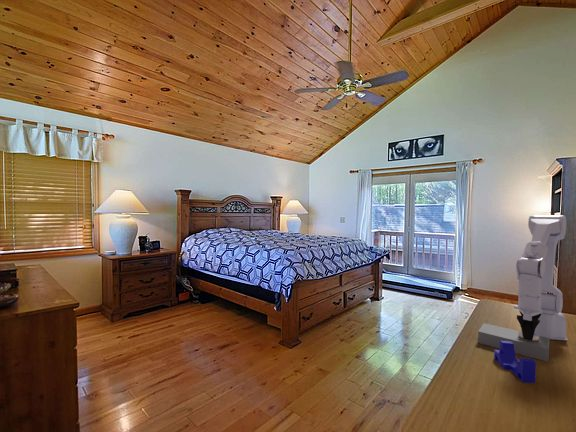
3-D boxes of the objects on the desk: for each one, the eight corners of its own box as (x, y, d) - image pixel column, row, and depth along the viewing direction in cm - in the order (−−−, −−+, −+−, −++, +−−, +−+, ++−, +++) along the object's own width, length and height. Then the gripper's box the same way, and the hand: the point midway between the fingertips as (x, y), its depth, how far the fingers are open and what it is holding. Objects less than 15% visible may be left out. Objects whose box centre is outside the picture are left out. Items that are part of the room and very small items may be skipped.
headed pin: (532, 346, 97) (532, 331, 97) (542, 354, 92) (543, 338, 92) (514, 344, 98) (515, 330, 98) (524, 352, 93) (524, 337, 93)
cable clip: (494, 359, 90) (494, 340, 90) (510, 360, 89) (511, 341, 89) (515, 381, 78) (516, 359, 78) (535, 384, 77) (535, 361, 77)
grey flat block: (549, 350, 95) (549, 338, 95) (548, 361, 88) (548, 348, 88) (483, 333, 107) (483, 323, 107) (478, 342, 100) (478, 331, 100)
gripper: (516, 288, 102) (515, 326, 103) (511, 297, 92) (510, 339, 92) (543, 292, 98) (542, 332, 98) (540, 302, 87) (539, 346, 87)
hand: (528, 336), depth 95 cm, fingers open, 6 cm apart
